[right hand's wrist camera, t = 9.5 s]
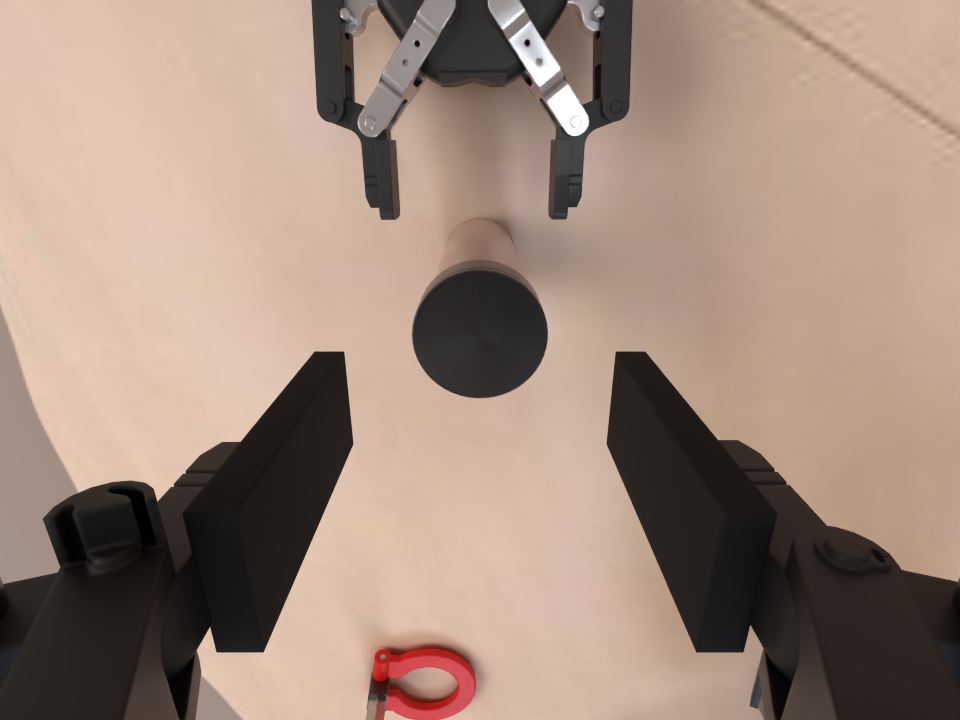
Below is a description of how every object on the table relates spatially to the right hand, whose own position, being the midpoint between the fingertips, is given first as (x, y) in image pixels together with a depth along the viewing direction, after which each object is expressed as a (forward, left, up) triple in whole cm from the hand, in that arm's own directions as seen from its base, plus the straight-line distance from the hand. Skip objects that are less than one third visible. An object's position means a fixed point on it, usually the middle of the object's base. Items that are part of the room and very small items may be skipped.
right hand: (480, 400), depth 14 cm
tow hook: (-38, -7, -22) cm, 44 cm away
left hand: (+3, +1, -15) cm, 16 cm away
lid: (0, 0, -5) cm, 5 cm away
